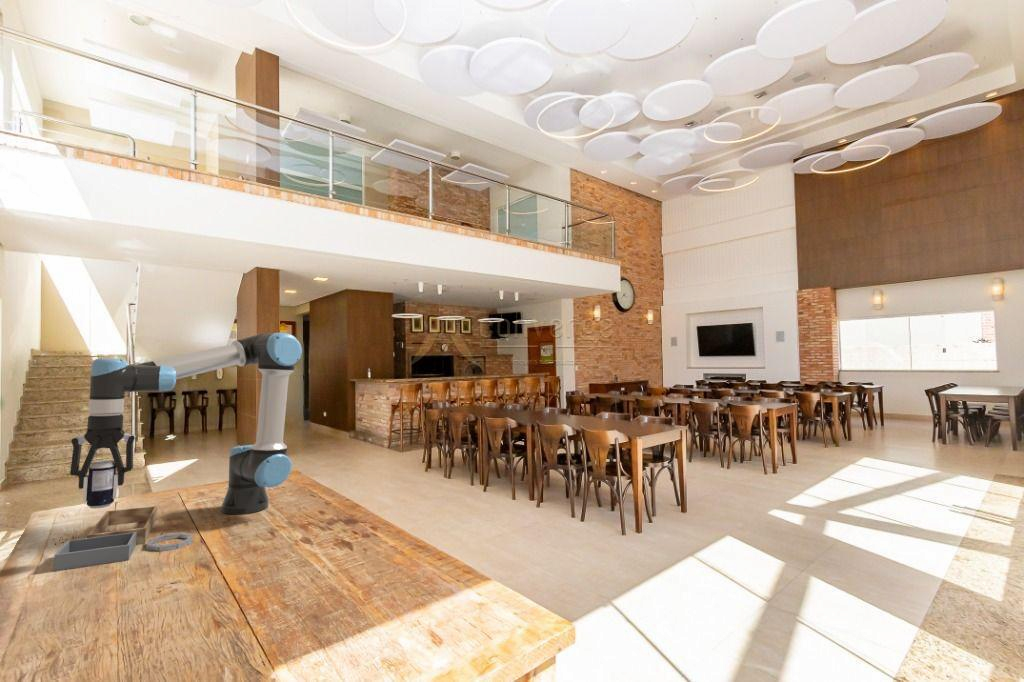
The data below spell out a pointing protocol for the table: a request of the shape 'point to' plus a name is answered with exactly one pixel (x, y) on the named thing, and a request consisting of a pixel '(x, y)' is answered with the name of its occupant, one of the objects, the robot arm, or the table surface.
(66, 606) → the table surface
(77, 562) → the bus tray
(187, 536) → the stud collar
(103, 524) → the parts crate
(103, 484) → the beverage can
